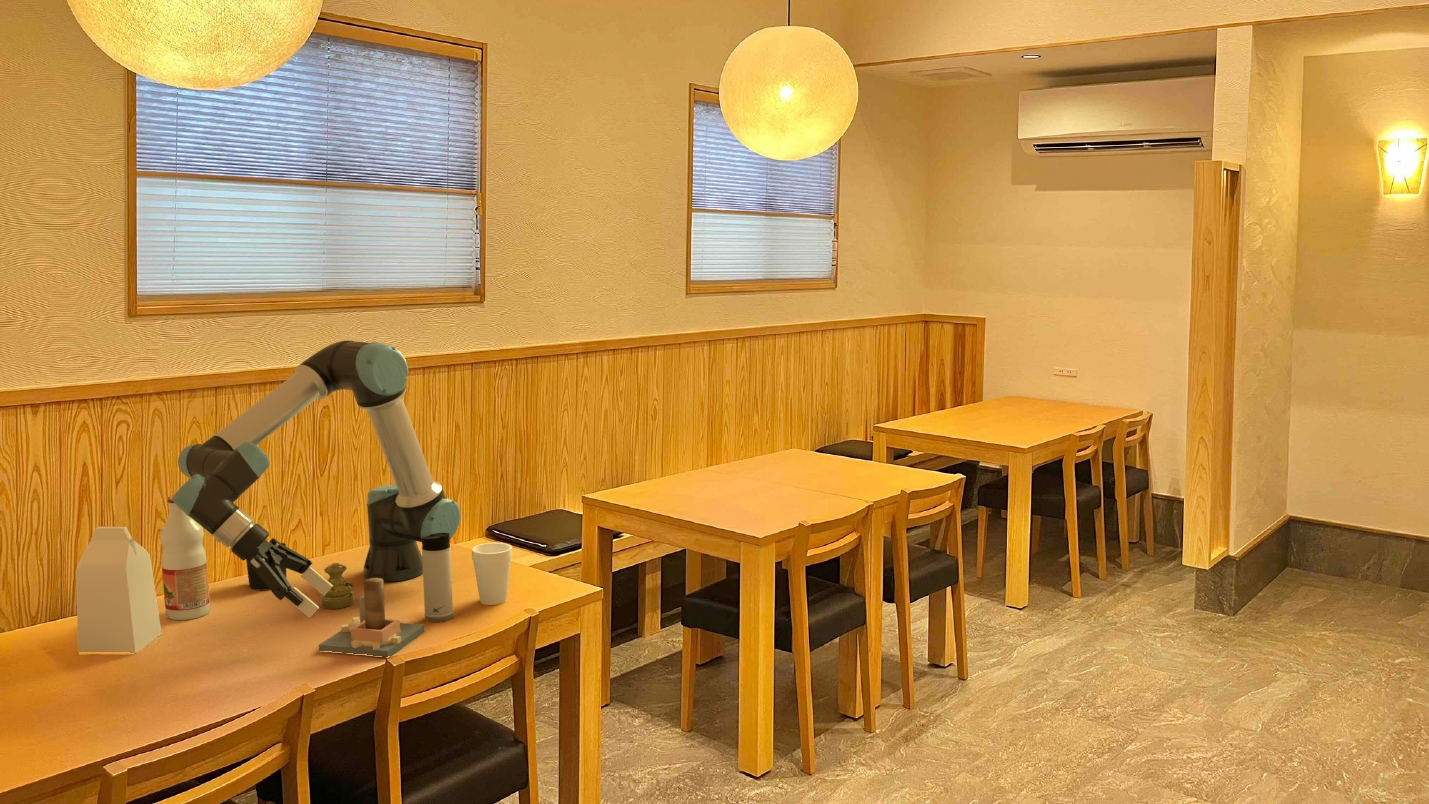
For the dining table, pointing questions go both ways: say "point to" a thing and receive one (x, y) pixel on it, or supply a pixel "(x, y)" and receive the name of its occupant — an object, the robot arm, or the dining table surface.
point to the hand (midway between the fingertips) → (321, 601)
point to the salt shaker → (337, 588)
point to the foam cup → (492, 571)
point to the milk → (115, 594)
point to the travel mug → (437, 577)
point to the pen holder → (254, 578)
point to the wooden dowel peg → (374, 603)
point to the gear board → (372, 636)
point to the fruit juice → (184, 566)
